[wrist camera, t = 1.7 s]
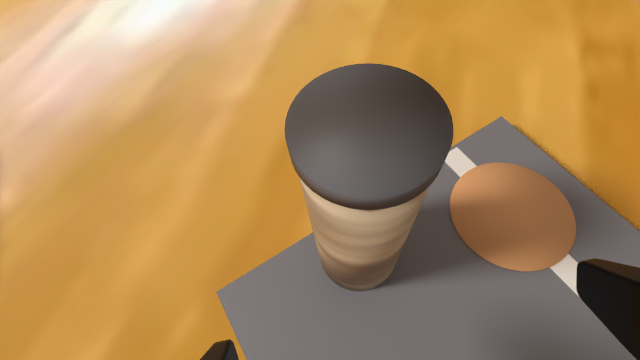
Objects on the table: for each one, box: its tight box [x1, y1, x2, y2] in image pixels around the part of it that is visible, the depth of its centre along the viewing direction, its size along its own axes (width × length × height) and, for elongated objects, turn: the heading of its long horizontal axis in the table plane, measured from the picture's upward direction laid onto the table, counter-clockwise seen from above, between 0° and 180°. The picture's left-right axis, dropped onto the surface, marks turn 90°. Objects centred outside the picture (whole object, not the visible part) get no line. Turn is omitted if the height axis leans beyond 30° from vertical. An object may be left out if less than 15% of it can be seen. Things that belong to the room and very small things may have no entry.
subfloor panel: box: [217, 116, 640, 360], centre depth 18 cm, size 19×22×2 cm
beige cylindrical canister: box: [285, 64, 453, 291], centre depth 15 cm, size 5×5×12 cm
